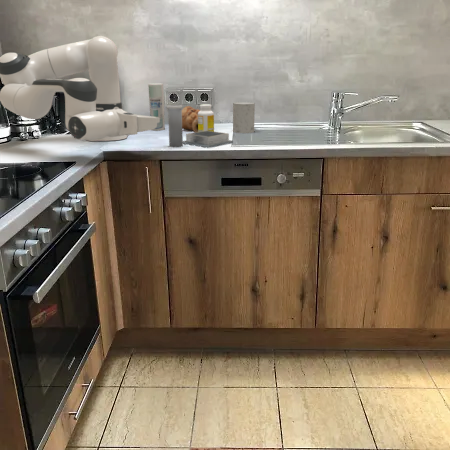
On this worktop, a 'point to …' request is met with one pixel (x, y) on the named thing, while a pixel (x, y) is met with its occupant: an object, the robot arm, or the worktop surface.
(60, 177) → the worktop surface
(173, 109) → the post
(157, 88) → the spray can
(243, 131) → the grey cylinder
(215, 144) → the grey square tray
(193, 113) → the orange brown lumpy figure
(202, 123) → the supplement bottle
